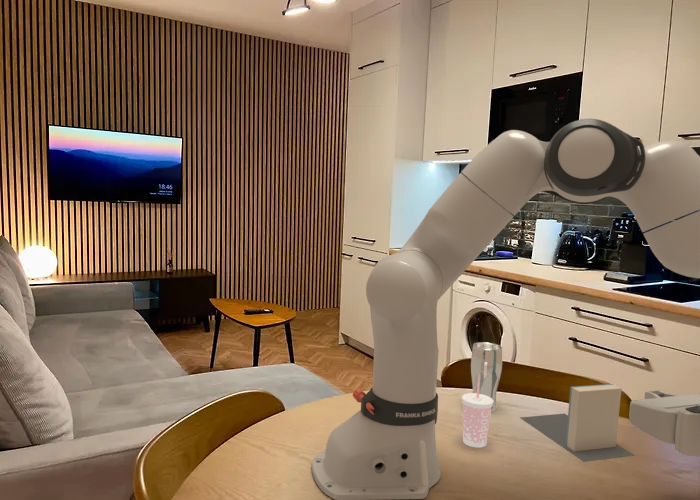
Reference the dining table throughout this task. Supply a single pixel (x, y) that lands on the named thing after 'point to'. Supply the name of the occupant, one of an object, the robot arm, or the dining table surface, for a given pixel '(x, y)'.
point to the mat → (557, 431)
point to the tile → (593, 417)
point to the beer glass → (486, 369)
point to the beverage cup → (476, 417)
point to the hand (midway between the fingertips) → (651, 395)
